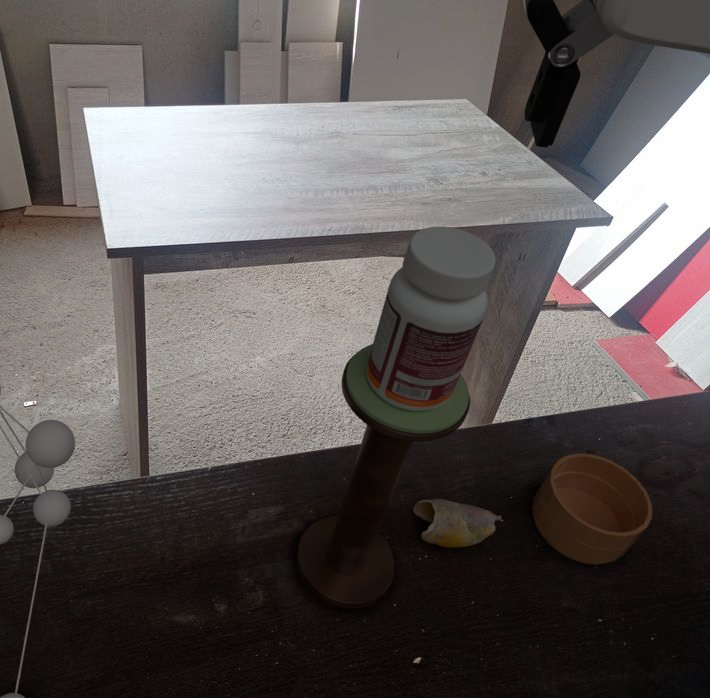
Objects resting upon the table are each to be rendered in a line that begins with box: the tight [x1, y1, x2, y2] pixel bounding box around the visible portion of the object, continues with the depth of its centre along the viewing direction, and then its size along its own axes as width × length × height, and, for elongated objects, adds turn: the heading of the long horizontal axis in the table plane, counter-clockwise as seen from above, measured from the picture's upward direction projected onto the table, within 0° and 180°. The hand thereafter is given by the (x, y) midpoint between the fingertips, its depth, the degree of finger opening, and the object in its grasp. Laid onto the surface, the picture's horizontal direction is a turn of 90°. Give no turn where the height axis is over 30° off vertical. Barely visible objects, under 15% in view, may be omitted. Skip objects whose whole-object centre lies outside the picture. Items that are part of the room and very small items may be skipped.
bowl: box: [531, 452, 653, 565], centre depth 71 cm, size 9×9×6 cm
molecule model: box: [0, 386, 76, 698], centre depth 57 cm, size 14×25×18 cm, turn 172°
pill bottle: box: [367, 226, 496, 411], centre depth 46 cm, size 6×6×11 cm
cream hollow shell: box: [413, 498, 504, 548], centre depth 69 cm, size 8×4×5 cm, turn 103°
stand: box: [296, 354, 471, 609], centre depth 59 cm, size 9×9×24 cm
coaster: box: [346, 343, 470, 434], centre depth 50 cm, size 9×9×1 cm
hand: (633, 150), depth 37 cm, fingers open, 9 cm apart
